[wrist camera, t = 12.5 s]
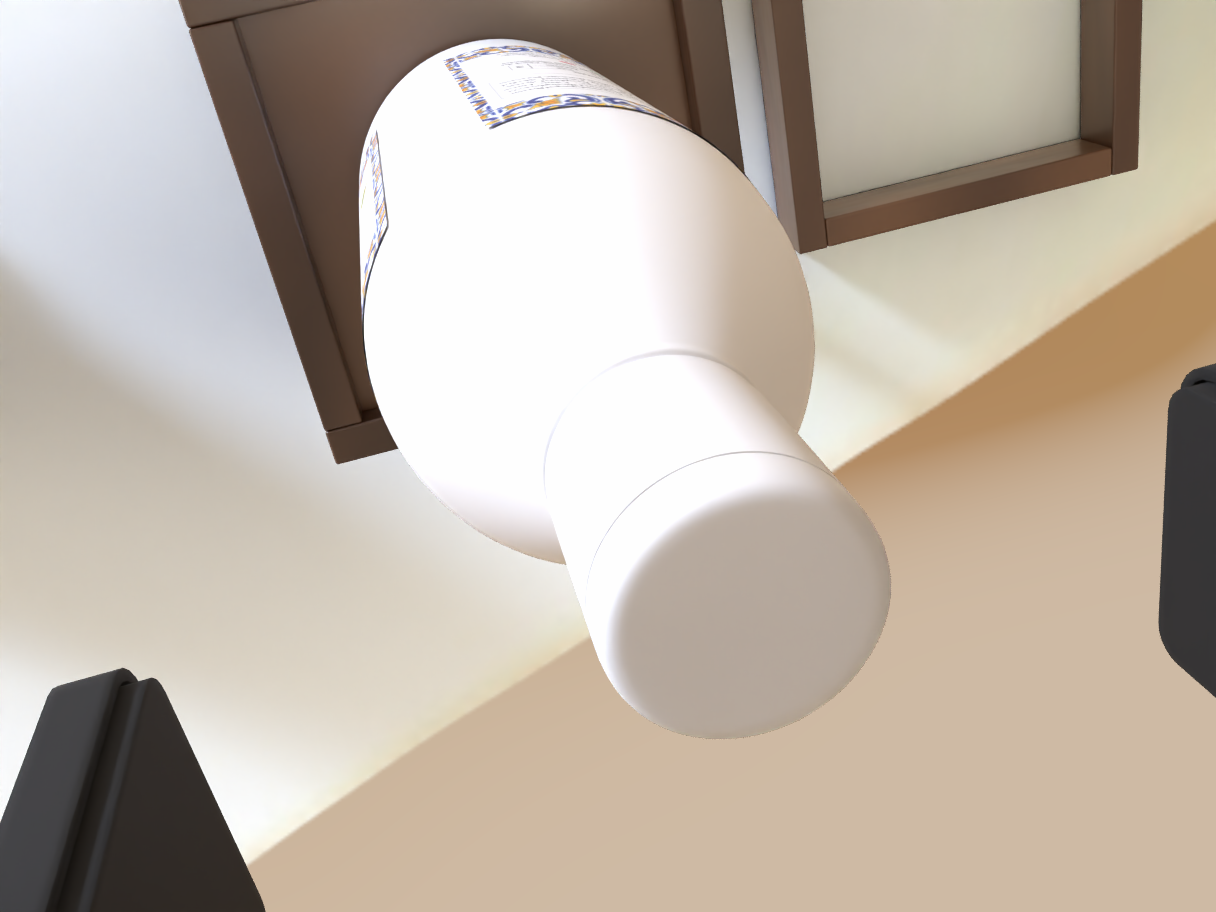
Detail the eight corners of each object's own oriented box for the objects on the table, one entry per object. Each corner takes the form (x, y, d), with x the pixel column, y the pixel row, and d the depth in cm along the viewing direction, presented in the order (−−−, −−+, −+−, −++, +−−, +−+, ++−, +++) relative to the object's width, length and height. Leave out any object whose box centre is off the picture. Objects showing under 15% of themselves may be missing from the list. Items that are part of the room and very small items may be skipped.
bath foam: (491, 367, 30) (691, 999, 13) (297, 173, 27) (194, 646, 9) (688, 192, 29) (1204, 605, 12) (511, -30, 26) (843, 72, 8)
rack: (342, 349, 38) (339, 474, 30) (216, -44, 33) (167, -32, 24) (1105, 159, 41) (1306, 222, 32) (1110, -235, 36) (1355, -286, 27)
